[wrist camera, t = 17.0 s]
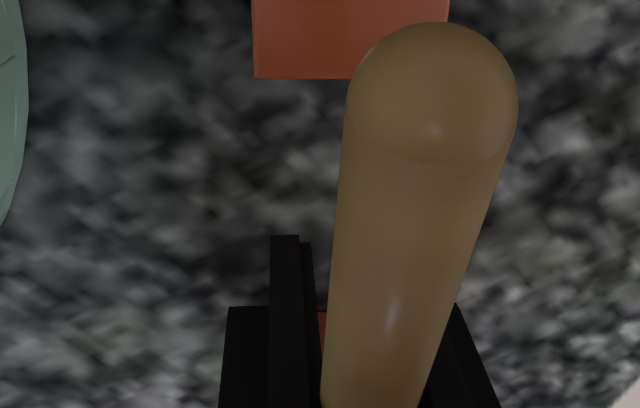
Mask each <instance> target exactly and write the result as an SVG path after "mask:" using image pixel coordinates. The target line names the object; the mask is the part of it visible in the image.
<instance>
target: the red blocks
mask: <svg viewBox="0 0 640 408" xmlns="http://www.w3.org/2000/svg"><path fill="white" fill-rule="evenodd" d="M450 1H451V0H251V28H252V56H253V74H254V76H255V77H256V78H258V79H352V76H353V74H354V72H355V70H356V68H357V66H358V65H359V63H360V61H361V60H362V59H363V57H364V56H365V55H366V54H367V52H368V51H369V50H370V49H371V48H372V47H373V46H374V45H375V44H377V43H378V42H379V41H380V40H382V39H383V38H384V37H385V36H387V35H389V34H391V33H392V32H394V31H397V30H399V29H401V28H403V27H406V26H409V25H412V24H417V23H424V22H448V15H449V8H450ZM326 317H327V312H318V322H319V332H320V342H321V353H322V363H323V351H324V340H325V329H326Z"/></svg>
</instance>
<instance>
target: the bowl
mask: <svg viewBox="0 0 640 408" xmlns="http://www.w3.org/2000/svg"><path fill="white" fill-rule="evenodd" d="M28 112H29V97H28V73H27V48H26V40H25V34H24V29H23V23H22V17H21V12H20V6H19V1H18V0H0V226H1V224H2V222H3V220H4V218H5V216H6V214H7V212H8V210H9V208H10V204H11V201H12V198H13V194H14V191H15V187H16V184H17V180H18V177H19V174H20V170H21V167H22V163H23V156H24V147H25V138H26V129H27V120H28Z"/></svg>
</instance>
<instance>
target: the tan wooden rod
mask: <svg viewBox="0 0 640 408" xmlns="http://www.w3.org/2000/svg"><path fill="white" fill-rule="evenodd" d="M518 113H519V94H518V90H517V86H516V83H515V79H514V75H513V72H512V70H511V69H510V67H509V65H508V63H507V62H506V60H505V58H504V57H503V55H502V53H501V52H500V51H499V50H498V49H497V48H496V47H495V46H494V45H493V44H492V43H491V42H490V41H489V40H488V39H486V38H485V37H483V36H482V35H481V34H479V33H477V32H475V31H473V30H471V29H468V28H466V27H463V26H461V25H458V24H454V23H449V22H424V23H417V24H412V25H409V26H406V27H403V28H401V29H399V30H397V31H394V32H392V33H391V34H389V35H387V36H385V37H384V38H383V39H382V40H380V41H379V42H378V43H377V44H375V45H374V46H373V47H372V48H371V49H370V50H369V51H368V52H367V54H366V55H365V56H364V57H363V59H362V60H361V61H360V63H359V65H358V66H357V68H356V70H355V72H354V74H353V76H352V79H351V81H350V83H349V88H348V93H347V98H346V102H345V113H344V124H343V136H342V147H341V159H340V170H339V181H338V193H337V204H336V215H335V227H334V238H333V249H332V261H331V272H330V283H329V295H328V306H327V317H326V329H325V340H324V351H323V363H322V374H321V385H320V402H321V408H417V407H418V404H419V401H420V398H421V395H422V392H423V390H424V387H425V384H426V381H427V378H428V376H429V373H430V370H431V367H432V364H433V362H434V359H435V356H436V353H437V350H438V347H439V345H440V342H441V339H442V336H443V333H444V331H445V328H446V325H447V322H448V319H449V316H450V314H451V311H452V308H453V305H454V302H455V300H456V297H457V294H458V291H459V288H460V286H461V283H462V280H463V277H464V274H465V271H466V269H467V266H468V263H469V260H470V257H471V255H472V252H473V249H474V246H475V243H476V241H477V238H478V235H479V232H480V229H481V226H482V224H483V221H484V218H485V215H486V212H487V210H488V207H489V204H490V201H491V198H492V196H493V193H494V190H495V187H496V184H497V181H498V179H499V176H500V173H501V170H502V167H503V165H504V162H505V159H506V156H507V153H508V150H509V148H510V145H511V142H512V139H513V136H514V134H515V129H516V125H517V120H518Z"/></svg>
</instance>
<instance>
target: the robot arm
mask: <svg viewBox="0 0 640 408" xmlns="http://www.w3.org/2000/svg"><path fill="white" fill-rule="evenodd" d="M321 374H322V353H321V342H320V332H319V322H318V312H317V302H316V292H315V282H314V272H313V262H312V252H311V243H310V242H302V243H300V242H299V235H270V305H269V306H233V307H229V309H228V315H227V325H226V334H225V344H224V354H223V363H222V373H221V382H220V392H219V402H218V408H321V402H320V385H321ZM417 408H501V406H500V403H499V401H498V399H497V396H496V394H495V392H494V389H493V387H492V384H491V382H490V380H489V377H488V375H487V373H486V370H485V368H484V366H483V363H482V361H481V358H480V356H479V354H478V351H477V349H476V347H475V344H474V342H473V340H472V337H471V335H470V333H469V330H468V328H467V325H466V323H465V321H464V318H463V316H462V314H461V311H460V309H459V307H458V305H457V304H456V303H455V302H454V305H453V308H452V311H451V314H450V316H449V319H448V322H447V325H446V328H445V331H444V333H443V336H442V339H441V342H440V345H439V347H438V350H437V353H436V356H435V359H434V362H433V364H432V367H431V370H430V373H429V376H428V378H427V381H426V384H425V387H424V390H423V392H422V395H421V398H420V401H419V404H418V407H417Z"/></svg>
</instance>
